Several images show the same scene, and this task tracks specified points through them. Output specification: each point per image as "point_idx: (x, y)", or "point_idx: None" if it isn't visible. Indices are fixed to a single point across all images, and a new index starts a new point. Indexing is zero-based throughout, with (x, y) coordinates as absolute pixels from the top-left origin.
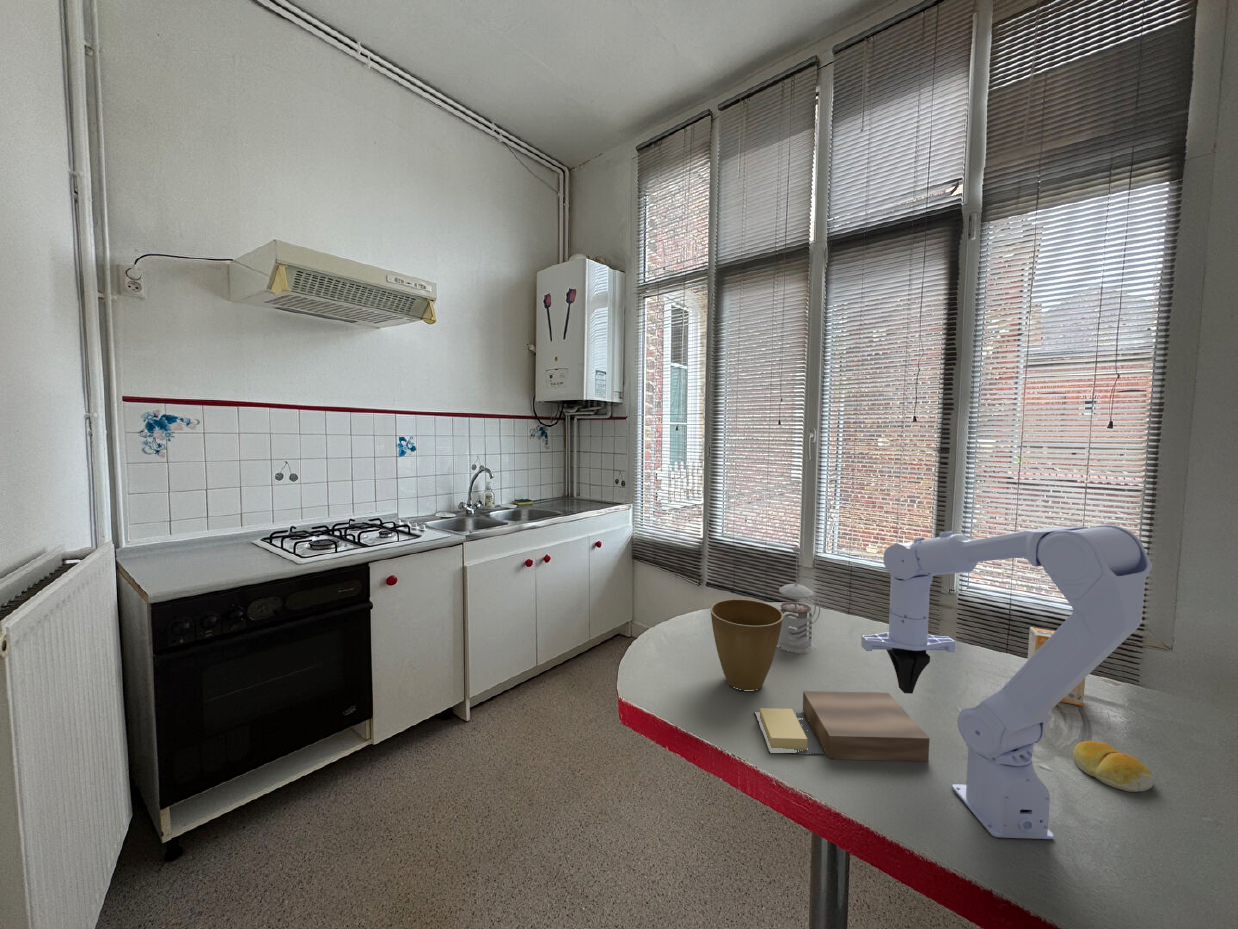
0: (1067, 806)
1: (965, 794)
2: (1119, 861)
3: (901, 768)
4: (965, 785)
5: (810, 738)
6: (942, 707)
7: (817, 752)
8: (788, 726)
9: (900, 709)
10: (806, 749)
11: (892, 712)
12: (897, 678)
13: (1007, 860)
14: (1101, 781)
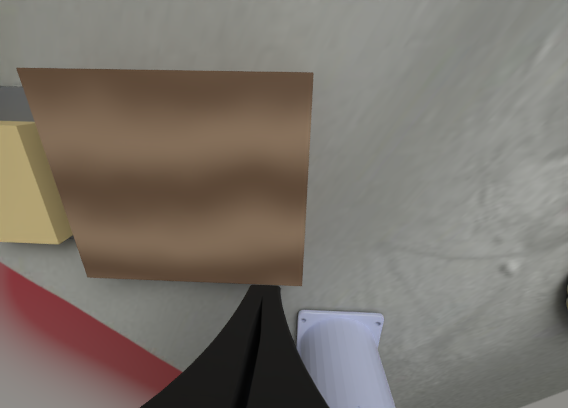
0: (445, 337)
1: (306, 330)
2: (414, 396)
3: None
4: (320, 314)
5: None
6: (500, 36)
7: None
8: (14, 203)
9: (299, 176)
10: None
11: (268, 191)
12: (240, 305)
13: None
14: (566, 302)
